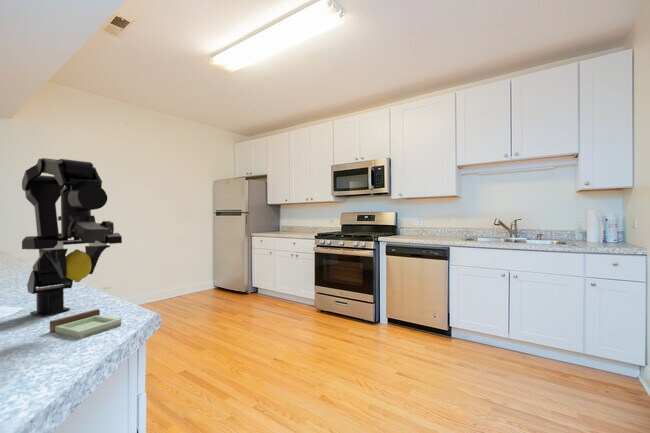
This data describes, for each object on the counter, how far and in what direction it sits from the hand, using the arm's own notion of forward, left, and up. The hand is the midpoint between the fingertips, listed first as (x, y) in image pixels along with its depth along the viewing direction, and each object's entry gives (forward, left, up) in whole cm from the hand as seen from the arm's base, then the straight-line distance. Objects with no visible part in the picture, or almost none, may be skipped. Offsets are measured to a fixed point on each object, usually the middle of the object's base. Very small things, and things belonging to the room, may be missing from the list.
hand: (77, 276), depth 76 cm
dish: (+6, -1, -12) cm, 13 cm away
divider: (0, 0, -12) cm, 12 cm away
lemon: (0, 0, -2) cm, 2 cm away
